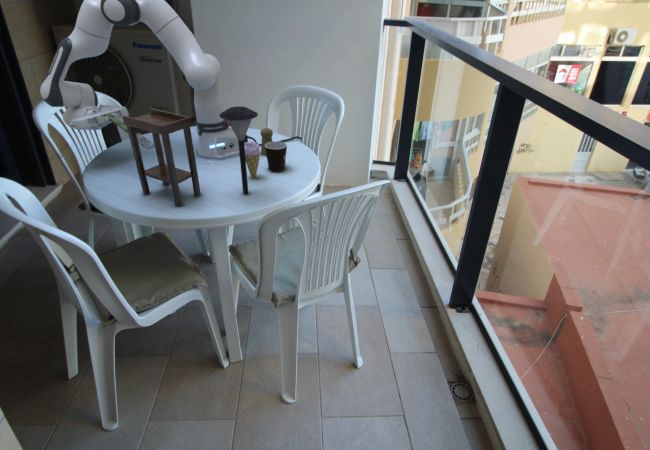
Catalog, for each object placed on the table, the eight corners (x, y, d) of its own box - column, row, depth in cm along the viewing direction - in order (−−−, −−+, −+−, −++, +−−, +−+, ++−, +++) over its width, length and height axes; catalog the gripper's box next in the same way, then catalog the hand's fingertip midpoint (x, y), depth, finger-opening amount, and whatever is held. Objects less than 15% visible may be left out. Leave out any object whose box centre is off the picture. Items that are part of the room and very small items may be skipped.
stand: (141, 194, 137) (122, 116, 122) (166, 182, 145) (151, 107, 130) (178, 208, 130) (162, 126, 115) (202, 194, 138) (190, 117, 123)
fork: (102, 117, 145) (101, 114, 144) (111, 114, 148) (110, 112, 147) (147, 150, 140) (147, 147, 139) (156, 146, 142) (156, 144, 142)
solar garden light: (247, 182, 147) (240, 101, 131) (270, 193, 140) (265, 109, 124) (221, 193, 139) (210, 109, 123) (243, 205, 132) (235, 117, 116)
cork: (272, 156, 169) (271, 131, 163) (258, 155, 170) (257, 130, 164) (276, 151, 174) (275, 127, 168) (263, 150, 175) (262, 126, 169)
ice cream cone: (246, 182, 147) (243, 144, 139) (241, 176, 152) (238, 138, 144) (263, 179, 150) (261, 141, 142) (258, 173, 154) (255, 136, 146)
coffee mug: (278, 175, 153) (277, 151, 148) (261, 169, 157) (260, 146, 152) (296, 165, 162) (295, 142, 156) (279, 160, 165) (278, 137, 160)
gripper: (62, 117, 143) (81, 116, 136) (112, 103, 158) (133, 102, 151) (69, 133, 146) (89, 134, 139) (118, 119, 161) (138, 119, 154)
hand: (112, 117), depth 145 cm, fingers closed on fork
